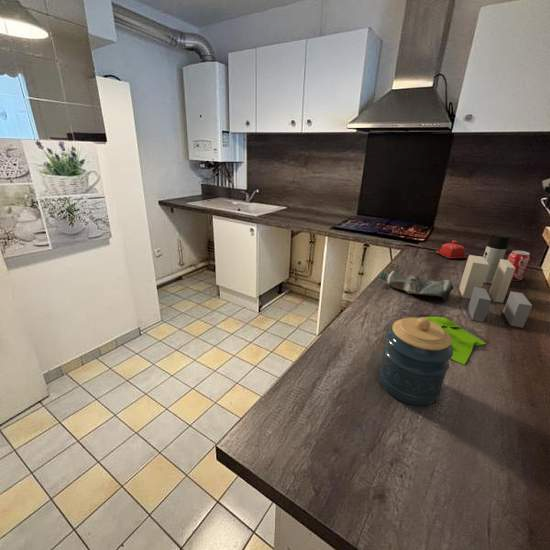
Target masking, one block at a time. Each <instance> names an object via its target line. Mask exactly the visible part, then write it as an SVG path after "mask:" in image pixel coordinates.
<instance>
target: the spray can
mask: <svg viewBox="0 0 550 550" xmlns="http://www.w3.org/2000/svg"><path fill="white" fill-rule="evenodd" d="M511 238H512V236H511V235H508V234H505V233H500V232H492V233H490V235H489V238H488V241H487V244H486V247H485V250H484V253H483V256H482V257H484V258H485V259H486V261H487V262H488V264H489V267H488V270H487V273H486V276H485V279H484V282H483V284H487V285H490V284H491V285H492V282H493V279H494V277H495V274H496V271H497V268H498V265H499V262H500V259H504V258H505V255H506V252H507V250H508V247H509V244H510V241H511Z"/></svg>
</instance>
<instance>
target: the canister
mask: <svg viewBox="0 0 550 550" xmlns="http://www.w3.org/2000/svg"><path fill="white" fill-rule="evenodd" d="M425 317H426V316H421V317H415V316H414V317H412V316H411V317H406V318H400V319H398V320H396V321H395V322H393V324H392V326H391V328H390V329H388V331H387V332H386V342H385V343H384V346H383V354H382V355H383V356H382V359H381V364H380V366H379V375H378V376H379V382H380V384H381V386H382V388H383V389H384V390H385V391H386V392H387V393H388V394H389V395H390V396H391V397H393V398H395V399H397V400H398V401H400V402H403V403H406V404H408V405H412V406H413V405H414V406H428V405H431V404H433V403H435V402H436V401H437V400H438V398H439V397H440V395H441V393H442V389H443V383H444V381H445V378H446V374H447V372H448V370H449V368H450V361H449V360H451V359H450V358H451V357H452V355H453V348H452V346H451V341H452V340H451V337H450V335H449V334H448V333H447V332H446V331H445V330H444V329H442V328H441V327H440V326H439V325H437V324H436V323H434V322H432V321H429V319H427V318H425Z"/></svg>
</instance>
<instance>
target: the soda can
mask: <svg viewBox="0 0 550 550" xmlns="http://www.w3.org/2000/svg"><path fill="white" fill-rule="evenodd" d="M530 255H531V253H530V252H528V251H525V250H519V249H514V250H512V252H511V253H509V255H508V257H507V260H509V261H510V263H511V264H512V265H513V266H514V267H515V268H516V269H515V271H514V274H513V277H512V279H511V282H519V281H522V280H523V278H524V276H525V274H526V271H527V269H528V266H529V263H530V260H531V256H530Z"/></svg>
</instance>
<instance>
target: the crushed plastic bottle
mask: <svg viewBox="0 0 550 550" xmlns="http://www.w3.org/2000/svg"><path fill="white" fill-rule="evenodd" d="M380 279H381V280H383V281H384V282H387V286H388V287H390V288H394V289H396V290H397V289H398V290H401V291H404V292H406V293H407V294H409V295H421V296H429V297H440V298H441V299H442V300H443V301H446V300H447V299H449V296H450V294H451V292H452V291H453V289H454V286H453V283H452V281H451V280H449V279H444V280H441V281H440V280H428V279H424V278H422V277H419V276H417V275H414V274H413V275H409V276H405V275H403V274H401V273H398V272H397V271H396V270H392V271H390V273H389V272H382V273H381V274H380Z"/></svg>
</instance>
